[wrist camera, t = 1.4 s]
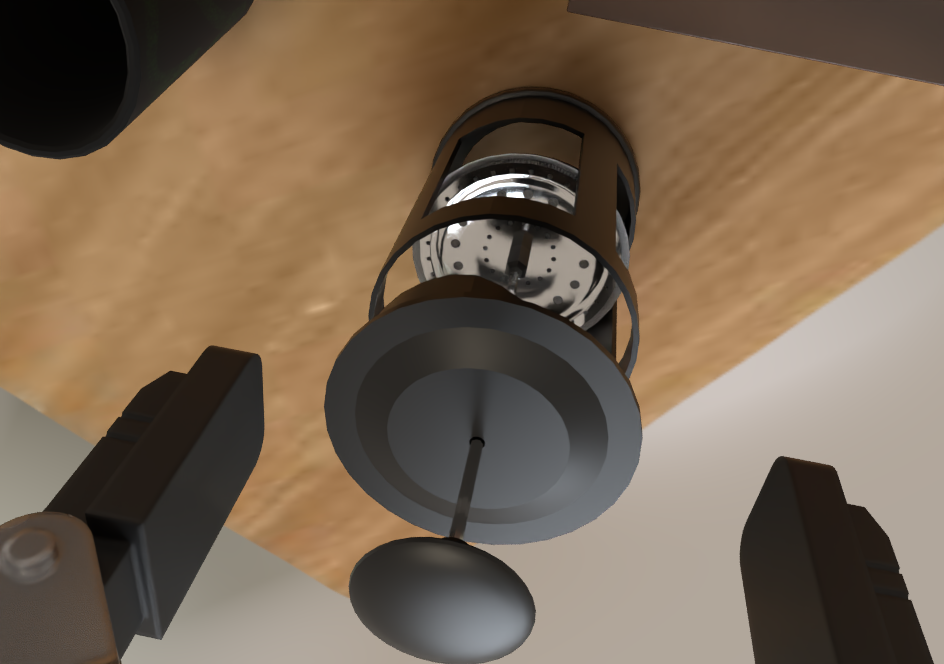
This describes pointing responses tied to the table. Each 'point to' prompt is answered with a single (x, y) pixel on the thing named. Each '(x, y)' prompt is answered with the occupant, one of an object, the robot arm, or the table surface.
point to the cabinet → (803, 29)
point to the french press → (493, 377)
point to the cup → (95, 65)
